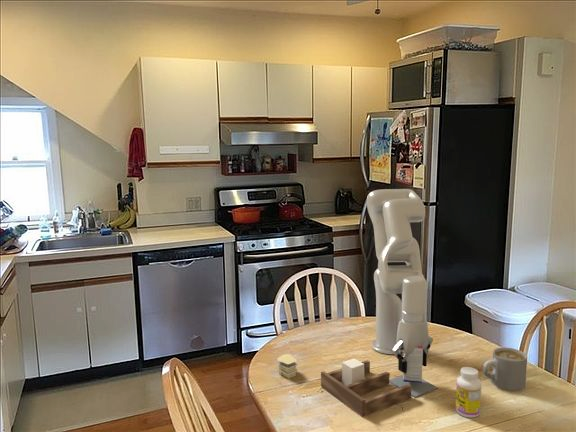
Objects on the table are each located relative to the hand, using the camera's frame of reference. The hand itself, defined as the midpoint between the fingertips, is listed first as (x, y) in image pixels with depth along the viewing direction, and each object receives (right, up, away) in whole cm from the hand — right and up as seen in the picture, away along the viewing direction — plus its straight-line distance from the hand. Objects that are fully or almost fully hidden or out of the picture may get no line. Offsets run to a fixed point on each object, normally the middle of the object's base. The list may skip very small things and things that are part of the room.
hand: (412, 367), depth 154 cm
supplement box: (0, -4, 0) cm, 4 cm away
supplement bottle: (+12, -8, -15) cm, 21 cm away
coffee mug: (+29, -5, +1) cm, 30 cm away
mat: (0, -6, +1) cm, 6 cm away
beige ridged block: (-40, -6, +10) cm, 42 cm away
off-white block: (-19, -6, +1) cm, 20 cm away
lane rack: (-15, -7, -3) cm, 17 cm away
